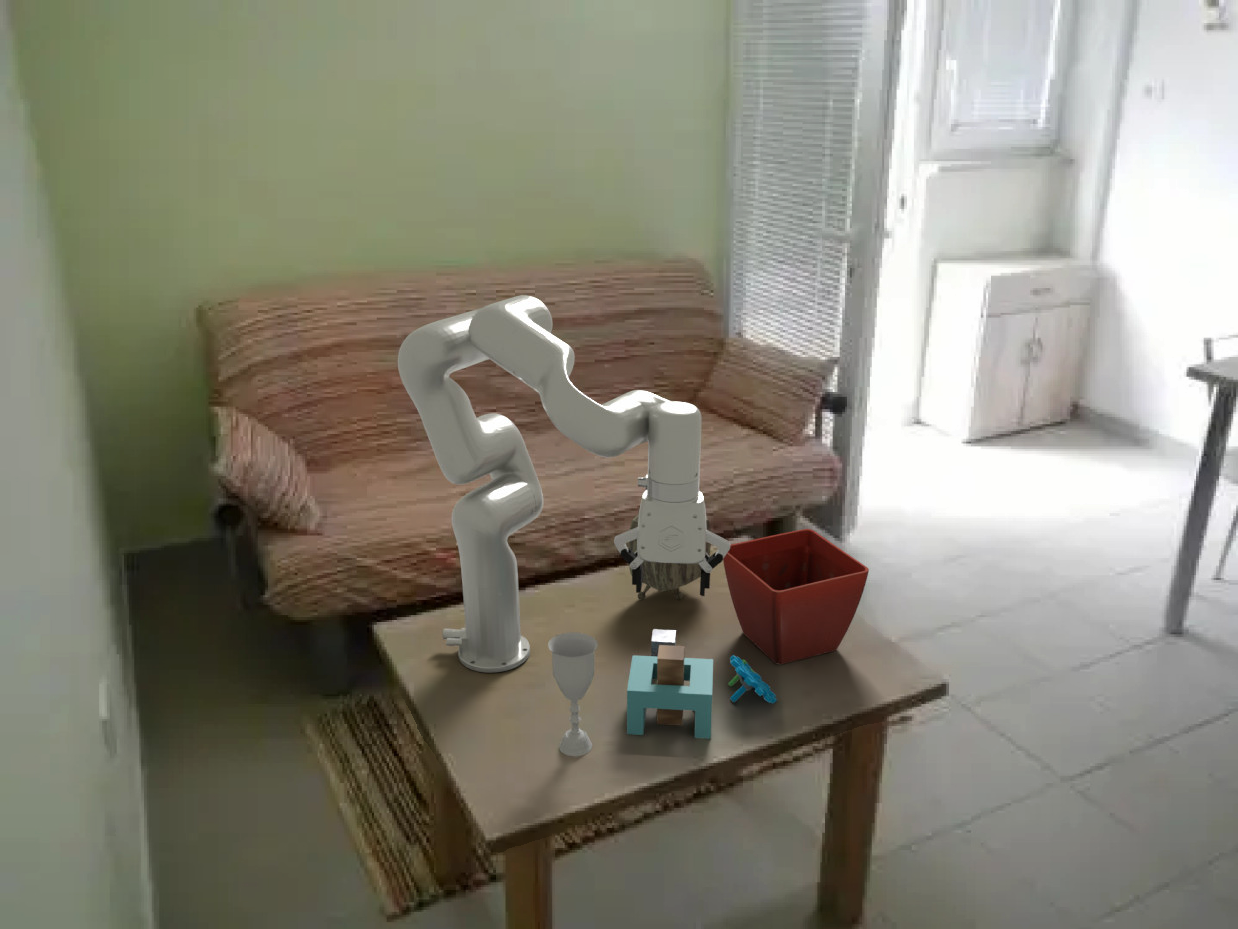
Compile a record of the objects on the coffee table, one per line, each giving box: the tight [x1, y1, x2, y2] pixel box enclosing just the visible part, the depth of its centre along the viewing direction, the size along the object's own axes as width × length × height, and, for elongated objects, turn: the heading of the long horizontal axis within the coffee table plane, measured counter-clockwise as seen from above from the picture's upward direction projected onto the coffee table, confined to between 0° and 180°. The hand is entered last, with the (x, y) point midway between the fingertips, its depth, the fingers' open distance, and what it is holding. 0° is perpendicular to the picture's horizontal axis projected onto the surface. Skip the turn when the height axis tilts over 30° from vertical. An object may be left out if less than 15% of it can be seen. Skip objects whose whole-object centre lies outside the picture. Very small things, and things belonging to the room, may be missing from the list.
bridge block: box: [626, 654, 714, 739], centre depth 163 cm, size 13×10×8 cm
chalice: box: [547, 631, 599, 757], centre depth 155 cm, size 7×7×18 cm
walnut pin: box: [656, 645, 685, 726], centre depth 163 cm, size 4×4×12 cm
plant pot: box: [722, 528, 870, 665], centre depth 183 cm, size 19×19×17 cm
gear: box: [728, 654, 778, 705], centre depth 169 cm, size 11×6×10 cm
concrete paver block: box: [650, 628, 677, 657], centre depth 178 cm, size 4×4×6 cm
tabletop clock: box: [627, 513, 712, 601], centre depth 198 cm, size 14×9×25 cm, turn 133°
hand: (670, 590), depth 157 cm, fingers open, 9 cm apart
